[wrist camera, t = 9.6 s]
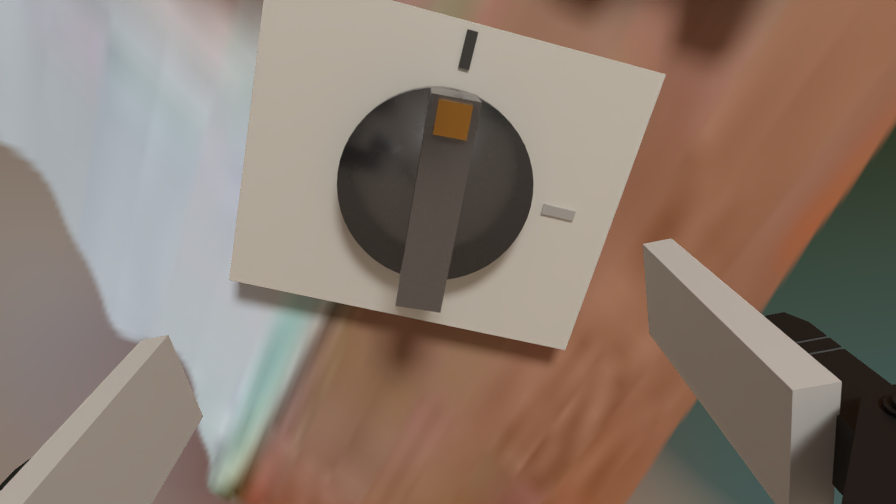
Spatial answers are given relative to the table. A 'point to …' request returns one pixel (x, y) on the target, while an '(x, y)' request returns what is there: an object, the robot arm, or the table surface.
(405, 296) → the dial
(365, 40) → the dial board
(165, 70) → the table surface
